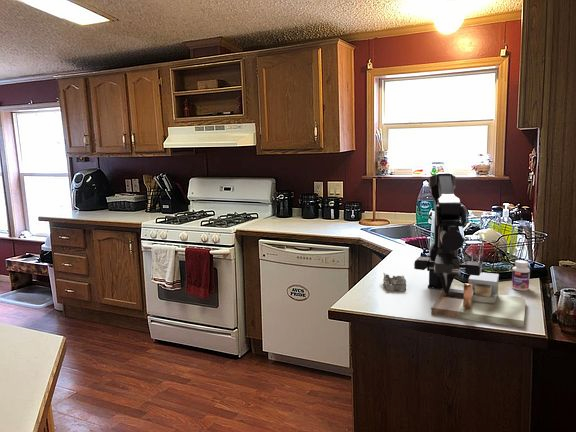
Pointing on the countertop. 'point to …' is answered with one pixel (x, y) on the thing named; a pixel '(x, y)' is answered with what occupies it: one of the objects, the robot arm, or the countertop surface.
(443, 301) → the deck
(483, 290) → the maple block
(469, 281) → the tunnel
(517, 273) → the pill bottle
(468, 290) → the sled
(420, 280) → the countertop surface
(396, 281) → the grey stone castle ruin
